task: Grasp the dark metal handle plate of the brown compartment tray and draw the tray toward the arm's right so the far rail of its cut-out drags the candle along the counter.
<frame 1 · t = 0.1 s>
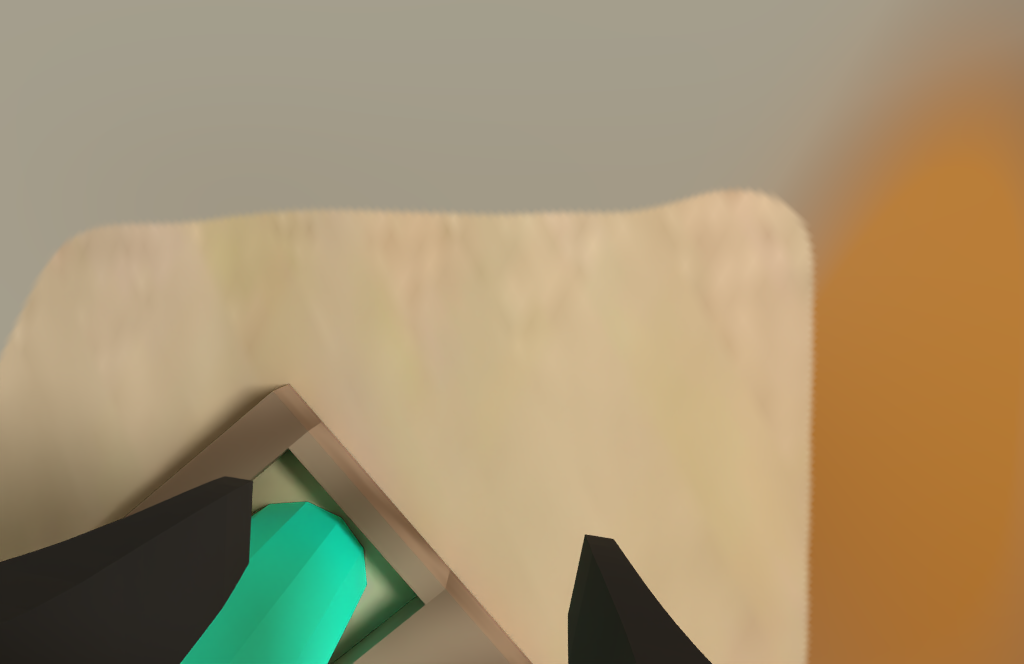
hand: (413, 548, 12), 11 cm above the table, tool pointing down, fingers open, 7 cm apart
candle: (297, 568, 23), resting in brown compartment tray
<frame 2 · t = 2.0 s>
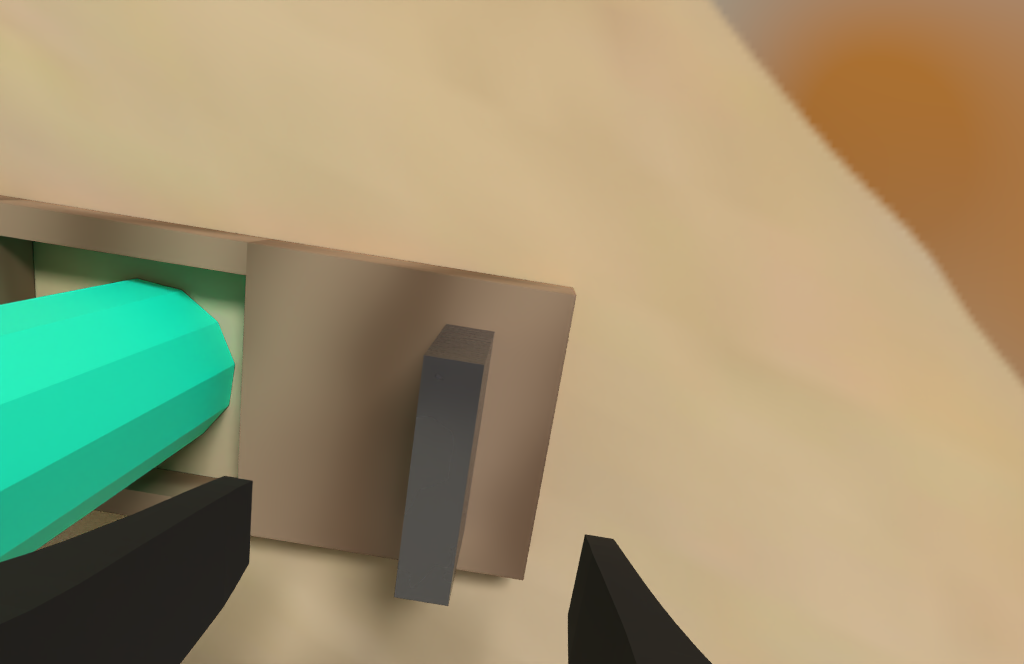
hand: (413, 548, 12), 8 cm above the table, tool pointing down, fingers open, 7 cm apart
brown compartment tray: (224, 408, 17), point 2 cm above the table, slide at 0.0 cm
candle: (154, 362, 19), resting in brown compartment tray
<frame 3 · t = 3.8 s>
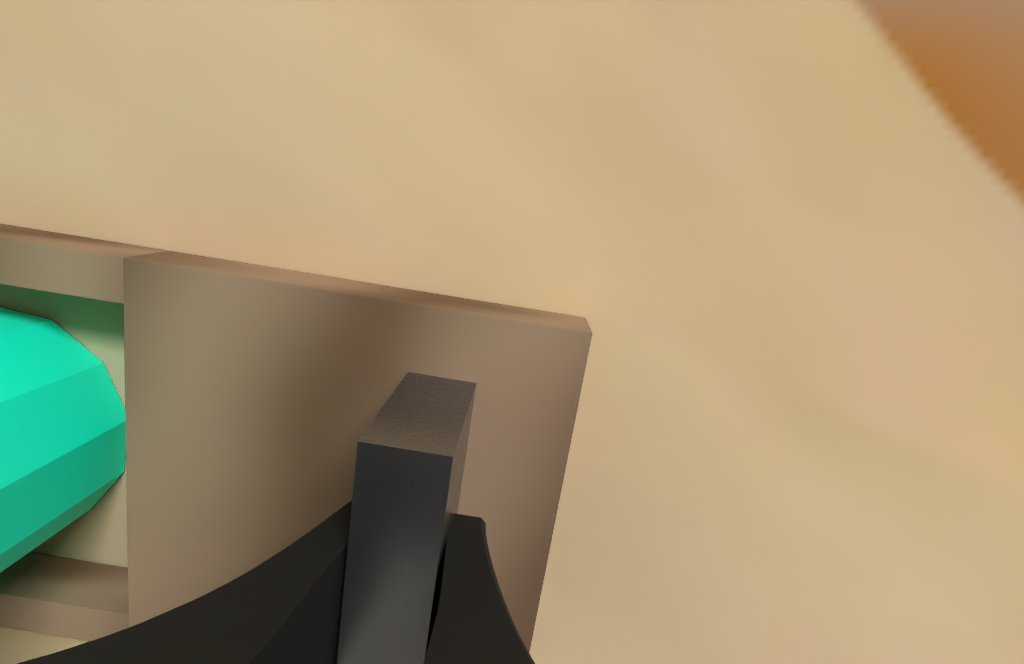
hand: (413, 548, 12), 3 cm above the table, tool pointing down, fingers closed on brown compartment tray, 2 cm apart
brown compartment tray: (92, 493, 12), point 2 cm above the table, slide at 0.0 cm, touching gripper
candle: (23, 414, 14), resting in brown compartment tray
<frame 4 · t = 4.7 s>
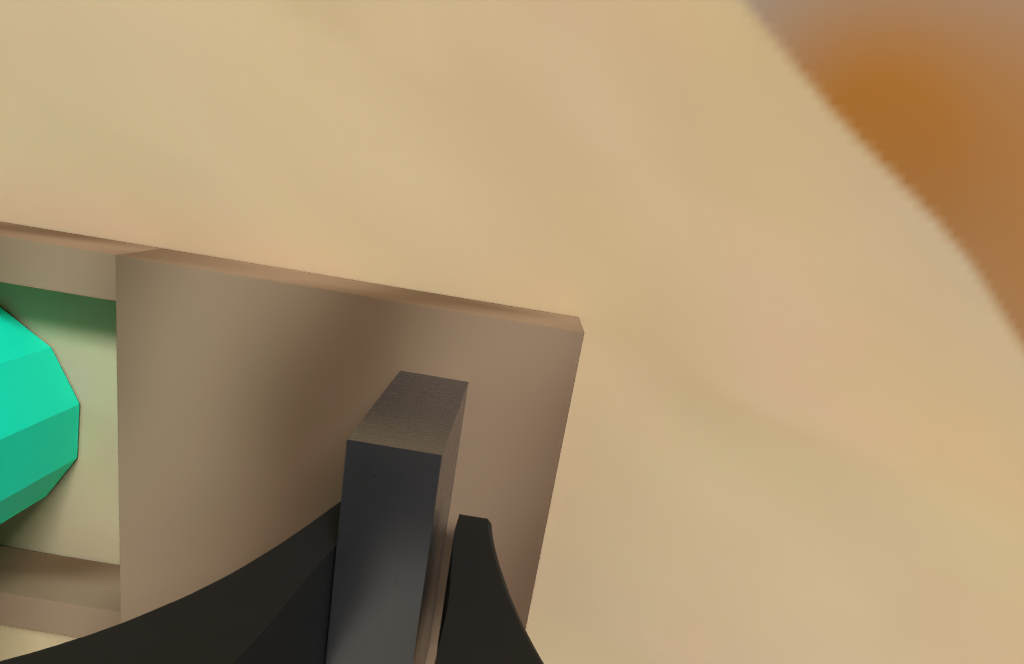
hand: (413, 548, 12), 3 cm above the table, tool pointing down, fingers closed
brown compartment tray: (84, 490, 12), point 2 cm above the table, slide at 2.5 cm, touching candle, gripper
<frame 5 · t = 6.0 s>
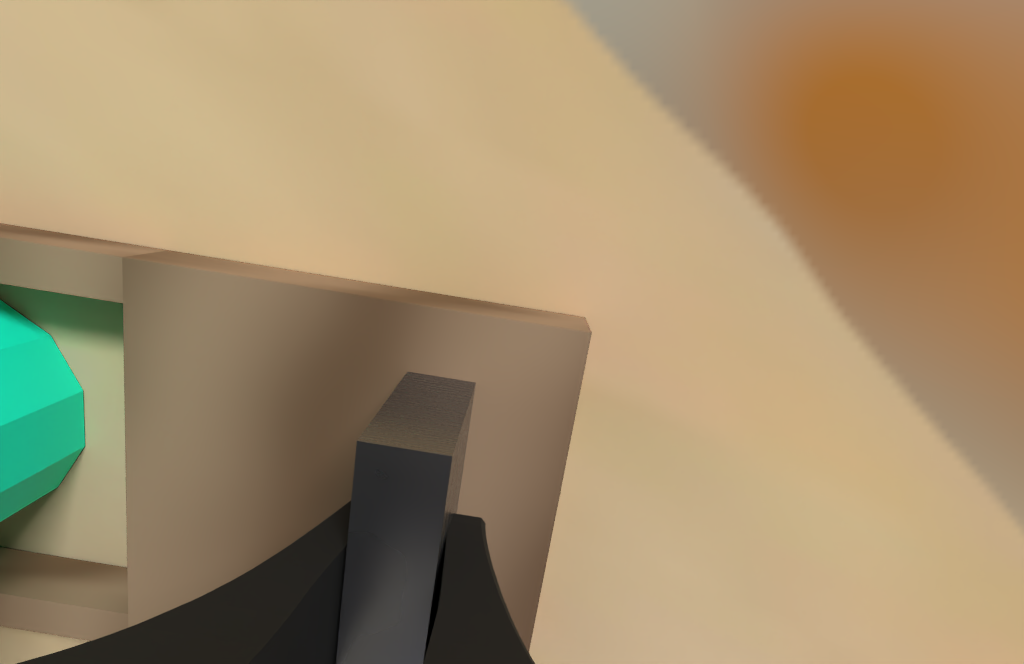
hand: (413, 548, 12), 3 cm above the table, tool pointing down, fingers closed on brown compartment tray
brown compartment tray: (92, 492, 12), point 2 cm above the table, slide at 7.0 cm, touching gripper
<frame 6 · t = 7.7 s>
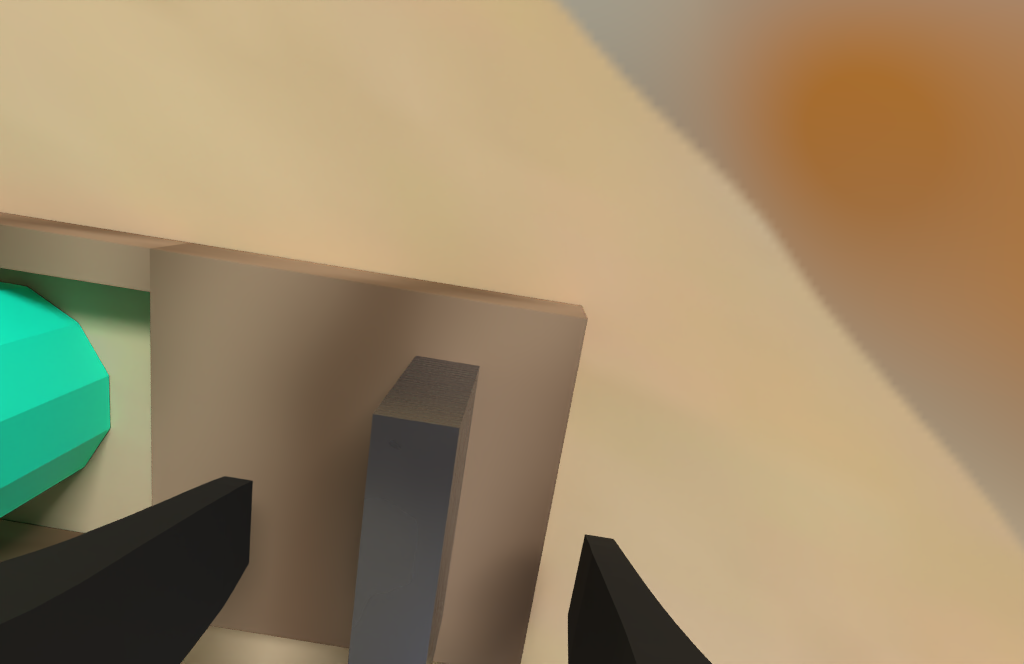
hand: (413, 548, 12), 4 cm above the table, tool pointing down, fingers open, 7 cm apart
brown compartment tray: (122, 468, 13), point 3 cm above the table, slide at 7.0 cm
candle: (11, 382, 15), resting in brown compartment tray
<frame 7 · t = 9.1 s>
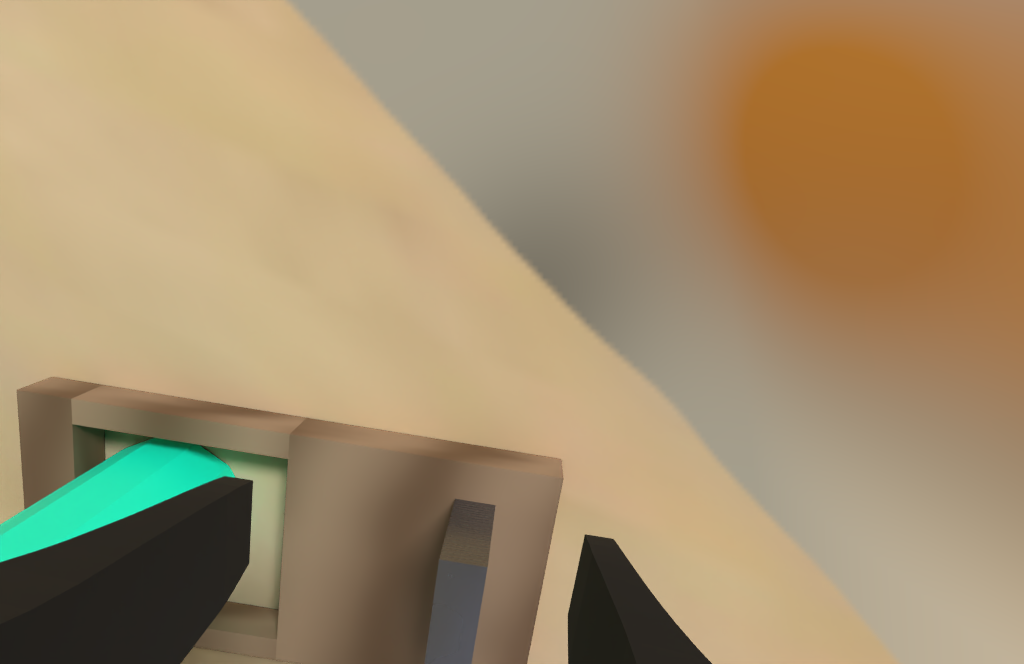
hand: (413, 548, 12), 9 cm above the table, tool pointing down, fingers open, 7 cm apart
brown compartment tray: (270, 570, 20), point 3 cm above the table, slide at 7.0 cm
candle: (179, 501, 23), resting in brown compartment tray
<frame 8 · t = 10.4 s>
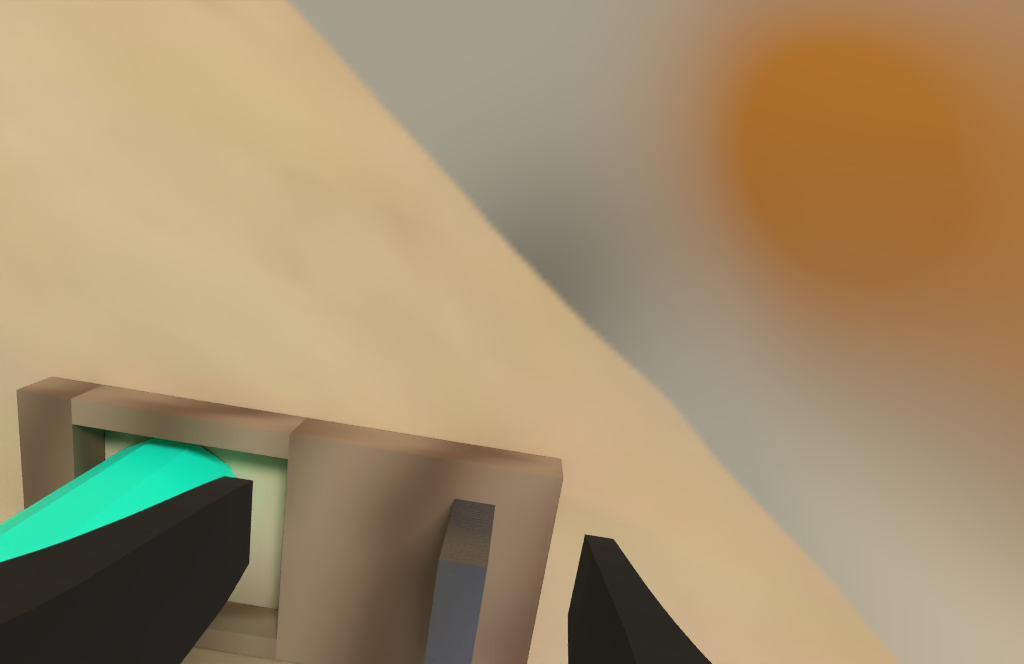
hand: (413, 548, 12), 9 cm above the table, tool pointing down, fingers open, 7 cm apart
brown compartment tray: (269, 570, 20), point 3 cm above the table, slide at 7.0 cm
candle: (179, 501, 23), resting in brown compartment tray
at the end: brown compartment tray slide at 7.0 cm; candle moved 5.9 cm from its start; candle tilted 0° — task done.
